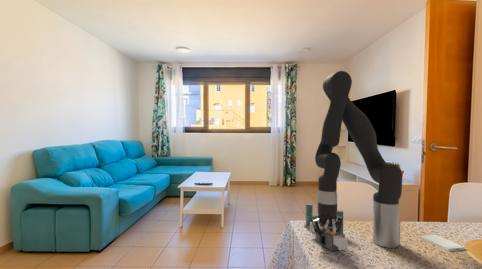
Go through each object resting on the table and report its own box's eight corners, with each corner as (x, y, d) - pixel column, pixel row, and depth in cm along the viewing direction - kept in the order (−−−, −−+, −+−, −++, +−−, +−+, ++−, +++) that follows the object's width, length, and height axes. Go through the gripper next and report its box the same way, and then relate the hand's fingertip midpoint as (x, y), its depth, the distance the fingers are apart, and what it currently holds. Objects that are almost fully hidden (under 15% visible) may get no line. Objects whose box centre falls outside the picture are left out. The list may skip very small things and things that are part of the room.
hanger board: (321, 224, 126) (321, 202, 126) (344, 236, 111) (344, 211, 111) (304, 226, 123) (304, 203, 123) (325, 239, 108) (326, 213, 108)
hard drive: (420, 235, 110) (448, 248, 98) (436, 234, 111) (466, 246, 99) (420, 239, 110) (448, 252, 98) (436, 238, 111) (466, 251, 99)
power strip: (317, 235, 112) (317, 221, 112) (348, 254, 94) (348, 237, 94) (309, 236, 111) (309, 222, 111) (339, 256, 93) (339, 239, 93)
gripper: (318, 205, 96) (318, 250, 97) (348, 202, 101) (348, 244, 101) (306, 200, 104) (306, 242, 104) (335, 197, 108) (335, 237, 108)
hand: (327, 243), depth 103 cm, fingers closed on power strip, 4 cm apart
